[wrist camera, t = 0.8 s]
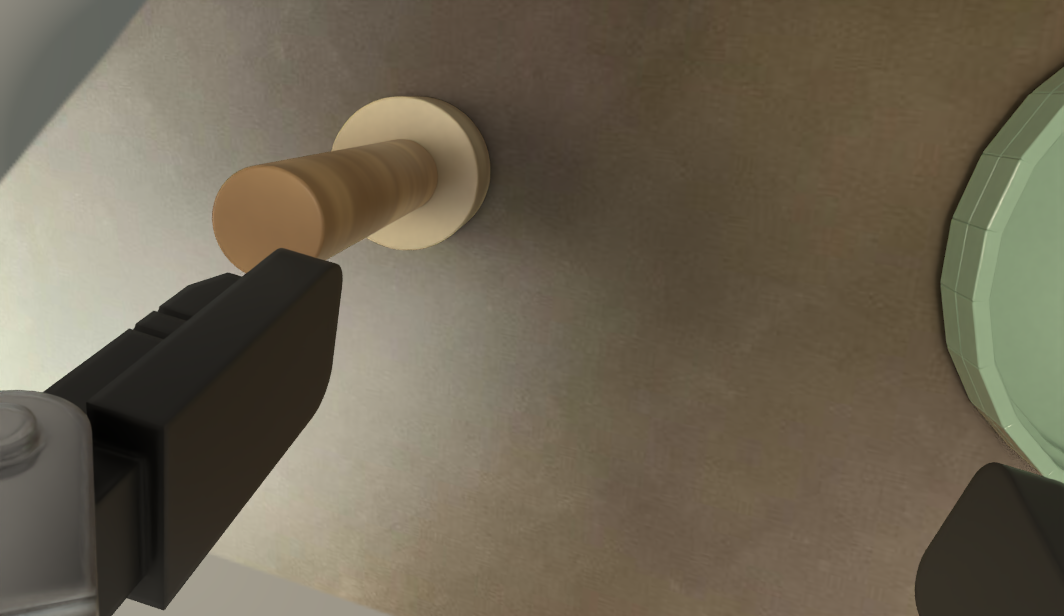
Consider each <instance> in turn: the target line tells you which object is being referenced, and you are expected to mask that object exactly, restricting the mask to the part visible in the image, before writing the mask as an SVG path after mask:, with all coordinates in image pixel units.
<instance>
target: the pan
mask: <svg viewBox="0 0 1064 616" xmlns="http://www.w3.org/2000/svg"><path fill="white" fill-rule="evenodd" d="M940 283H941V296H942V306H943V315H944V325H945V334H946V344H947V345H948V346H947V348H948V350H949V353H950V355H951V357H952V360H953V362H954V364H955V367H956V369H957V372H958V374H959V376H960V379H961V381H962V383H963V386H964V388H965V390H966V393H967V395H968V397H969V399H970V400H971V403H972V404H973V405H974V406H975V407H976V408H977V410H978V411H979V412H980V413H981V414H982V416H983V417H984V418H985V419H986V420H987V422H988V423H989V424H990V425H991V426H992V427H993V429H994V430H995V431H996V432H997V433H998V435H999V436H1000V437H1001V438H1002V439H1003V440H1004V442H1005V443H1006V444H1007V445H1008V446H1009V447H1010V448H1011V449H1013V450H1014V451H1015V452H1016V453H1017V454H1018V455H1019V456H1021V457H1022V458H1023V459H1024V460H1025V461H1026V462H1028V463H1029V464H1030V465H1031V466H1032V467H1033V468H1034V469H1036V470H1037V471H1038V472H1039V473H1040V474H1041V475H1042V476H1044V477H1047V478H1050V479H1054V480H1057V481H1060V482H1062V483H1064V67H1063V68H1062V69H1060V70H1059V71H1058V72H1057V73H1055V74H1054V75H1053V76H1052V77H1050V78H1049V79H1048V80H1046V81H1045V82H1044V83H1043V84H1041V85H1040V86H1039V87H1038V88H1036V89H1035V90H1034V91H1033V92H1032V94H1029V95H1028V96H1027V98H1026V99H1025V100H1024V101H1023V103H1022V104H1021V105H1020V106H1019V108H1018V109H1017V110H1016V111H1015V113H1014V114H1013V115H1012V116H1011V118H1010V119H1009V120H1008V121H1007V123H1006V124H1005V125H1004V126H1003V128H1002V129H1001V130H1000V131H999V133H998V134H997V135H996V136H995V138H994V139H993V140H992V141H991V143H990V144H989V145H988V146H987V148H986V149H985V150H984V151H983V154H982V155H981V157H980V159H979V161H978V163H977V166H976V168H975V170H974V172H973V174H972V176H971V178H970V181H969V183H968V185H967V187H966V189H965V191H964V193H963V196H962V198H961V200H960V202H959V204H958V206H957V208H956V211H955V213H954V215H953V219H952V220H951V225H950V231H949V237H948V242H947V248H946V253H945V259H944V265H943V270H942V276H941V281H940Z"/></svg>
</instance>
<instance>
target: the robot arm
mask: <svg viewBox="0 0 1064 616" xmlns="http://www.w3.org/2000/svg"><path fill="white" fill-rule="evenodd" d="M341 290H342V270H341V267H340V266H339V265H338V264H335V263H332V262H329V261H325V260H322V259H319V258H315V257H312V256H308V255H305V254H302V253H298V252H295V251H292V250H288V249H285V248H279V249H276V250H275V251H274V252H272V253H271V254H270V255H269V256H267V257H266V258H265V259H264V260H262V261H261V262H260V263H259V264H257V265H256V266H255V267H254V268H252V269H251V270H250V271H249V272H247V273H246V274H245V275H244V276H242V277H241V276H238V275H234V274H231V273H225V274H222V275H219V276H216V277H213V278H210V279H207V280H203V281H200V282H197V283H194V284H191V285H188V286H187V287H185V288H184V289H183V290H181V291H180V292H178V293H177V294H176V295H174V296H173V297H172V298H170V299H169V300H168V301H166V302H165V303H164V304H162V305H161V306H159V310H158V312H157V311H153V312H151V313H150V314H149V315H147V316H146V317H144V318H143V319H142V320H140V321H139V322H138V323H136V325H135V328H134V330H132V329H128V330H127V331H125V332H124V333H123V334H121V335H120V336H119V337H117V338H116V339H115V340H113V341H112V342H110V343H109V344H108V345H106V346H105V347H104V348H102V349H101V350H100V351H98V352H97V353H96V354H94V355H93V356H91V357H90V358H89V359H87V360H86V361H85V362H83V363H82V364H81V365H79V366H78V367H76V368H75V369H74V370H72V371H71V372H70V373H68V374H67V375H66V376H64V377H63V378H62V379H60V380H59V381H57V382H56V383H55V384H53V385H52V386H51V387H49V388H48V389H47V390H45V391H44V392H36V391H24V390H7V391H0V616H112V615H113V613H114V612H115V611H116V610H117V609H118V607H119V606H120V605H121V604H122V603H123V602H124V600H125V599H126V598H128V599H131V600H134V601H137V602H140V603H143V604H146V605H150V606H152V607H155V608H158V609H161V610H165V609H166V607H167V606H168V605H169V603H170V602H171V601H172V599H173V598H174V597H175V596H176V594H177V593H178V592H179V590H180V589H181V588H182V586H183V585H184V584H185V582H186V581H187V580H188V579H189V577H190V576H191V575H192V573H193V572H194V571H195V569H196V568H197V567H198V566H199V564H200V563H201V562H202V560H203V559H204V558H205V556H206V555H207V554H208V553H209V551H210V550H211V549H212V547H213V546H214V545H215V543H216V542H217V541H218V540H219V538H220V537H221V536H222V534H223V533H224V532H225V530H226V529H227V528H228V527H229V525H230V524H231V523H232V521H233V520H234V519H235V517H236V516H237V515H238V514H239V512H240V511H241V510H242V508H243V507H244V506H245V504H246V503H247V502H248V501H249V499H250V498H251V497H252V495H253V494H254V493H255V491H256V490H257V489H258V487H259V486H260V485H261V484H262V482H263V481H264V480H265V478H266V477H267V476H268V474H269V473H270V472H271V471H272V469H273V468H274V467H275V465H276V464H277V463H278V461H279V460H280V459H281V458H282V456H283V455H284V454H285V452H286V451H287V450H288V448H289V447H290V446H291V445H292V443H293V442H294V441H295V439H296V438H297V437H298V435H299V434H300V433H301V432H302V430H303V429H304V428H305V426H306V425H307V424H308V422H309V421H310V420H311V419H312V417H313V416H314V414H315V413H316V411H317V409H318V408H319V406H320V404H321V402H322V399H323V397H324V395H325V392H326V389H327V386H328V383H329V379H330V375H331V370H332V364H333V355H334V347H335V339H336V331H337V323H338V315H339V307H340V299H341ZM915 601H916V606H917V610H918V613H919V616H1064V483H1062V482H1060V481H1057V480H1054V479H1050V478H1047V477H1044V476H1040V475H1037V474H1034V473H1030V472H1027V471H1024V470H1020V469H1017V468H1014V467H1010V466H1007V465H1004V464H1000V463H995V462H993V463H989V464H986V465H984V466H983V467H982V468H980V470H979V471H978V472H977V473H976V474H975V475H974V477H973V478H972V480H971V481H970V483H969V484H968V486H967V487H966V489H965V490H964V492H963V494H962V495H961V497H960V498H959V500H958V501H957V503H956V504H955V506H954V508H953V509H952V511H951V512H950V514H949V515H948V517H947V518H946V520H945V521H944V523H943V525H942V526H941V528H940V529H939V531H938V532H937V534H936V535H935V537H934V539H933V540H932V542H931V543H930V545H929V546H928V548H927V549H926V551H925V553H924V555H923V556H922V559H921V561H920V564H919V567H918V571H917V575H916V581H915Z"/></svg>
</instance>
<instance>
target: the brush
mask: <svg viewBox="0 0 1064 616" xmlns="http://www.w3.org/2000/svg"><path fill="white" fill-rule="evenodd" d="M490 173H491V171H490V159H489V153H488V150H487V146H486V144H485V141H484V139H483V137H482V135H481V133H480V132H479V130H478V128H477V127H476V126H475V124H474V123H473V122H472V121H471V119H469V118H468V117H467V116H466V115H465V114H464V113H463V112H462V111H460V110H459V109H458V108H456V107H454V106H453V105H451V104H449V103H447V102H444V101H442V100H439V99H435V98H431V97H422V96H393V97H387V98H382V99H379V100H376V101H374V102H371V103H369V104H367V105H365V106H364V107H362V108H361V109H359V110H358V111H357V112H355V113H354V114H353V115H352V116H351V117H350V118H349V119H348V120H347V121H346V123H345V124H344V125H343V127H342V128H341V130H340V131H339V133H338V135H337V137H336V139H335V142H334V145H333V148H332V151H330V152H325V153H319V154H314V155H309V156H303V157H298V158H292V159H287V160H281V161H276V162H270V163H265V164H259V165H254V166H250V167H247V168H244V169H242V170H240V171H238V172H236V173H235V174H233V175H232V176H231V177H230V178H228V179H227V180H226V182H225V183H224V184H223V185H222V187H221V188H220V190H219V192H218V194H217V196H216V199H215V202H214V206H213V213H212V222H213V229H214V234H215V237H216V240H217V242H218V244H219V246H220V248H221V250H222V251H223V253H224V254H225V256H226V257H227V258H228V259H229V260H230V262H231V263H233V264H234V265H235V266H236V267H237V268H239V269H240V270H241V271H243V272H245V273H247V272H249V271H250V270H251V269H252V268H254V267H255V266H256V265H257V264H259V263H260V262H261V261H262V260H264V259H265V258H266V257H267V256H269V255H270V254H271V253H272V252H274V251H275V250H276V249H279V248H285V249H288V250H292V251H295V252H298V253H302V254H305V255H308V256H312V257H315V258H319V259H322V260H327V259H329V258H330V257H332V256H334V255H336V254H338V253H339V252H341V251H343V250H345V249H346V248H348V247H350V246H352V245H354V244H355V243H357V242H359V241H361V240H363V239H364V238H368V239H369V240H371V241H373V242H375V243H377V244H379V245H382V246H384V247H388V248H392V249H398V250H418V249H424V248H428V247H431V246H434V245H436V244H438V243H441V242H442V241H444V240H446V239H447V238H449V237H450V236H451V235H453V234H454V233H455V232H456V231H457V230H459V229H460V228H461V227H462V226H463V225H464V224H466V223H467V222H468V221H469V220H470V219H471V218H472V217H473V216H474V215H475V214H476V212H477V211H478V209H479V208H480V207H481V205H482V203H483V201H484V199H485V196H486V194H487V191H488V187H489V182H490Z"/></svg>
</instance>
